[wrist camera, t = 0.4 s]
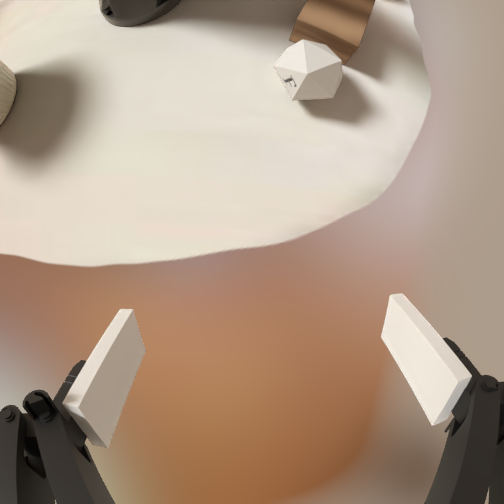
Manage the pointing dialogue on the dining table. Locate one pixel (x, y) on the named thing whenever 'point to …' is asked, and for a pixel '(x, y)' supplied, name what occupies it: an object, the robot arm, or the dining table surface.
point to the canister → (6, 90)
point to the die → (309, 71)
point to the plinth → (333, 24)
